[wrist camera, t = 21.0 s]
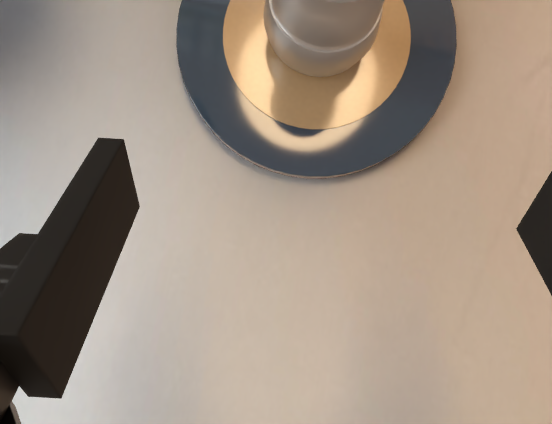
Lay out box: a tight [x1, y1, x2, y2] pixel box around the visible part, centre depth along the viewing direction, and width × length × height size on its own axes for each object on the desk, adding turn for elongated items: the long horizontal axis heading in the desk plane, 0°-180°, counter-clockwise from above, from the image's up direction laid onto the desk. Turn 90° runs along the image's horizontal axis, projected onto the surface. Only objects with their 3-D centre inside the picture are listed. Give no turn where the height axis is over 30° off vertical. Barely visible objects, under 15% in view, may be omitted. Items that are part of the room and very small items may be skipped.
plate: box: [177, 0, 456, 179], centre depth 28 cm, size 18×18×1 cm
